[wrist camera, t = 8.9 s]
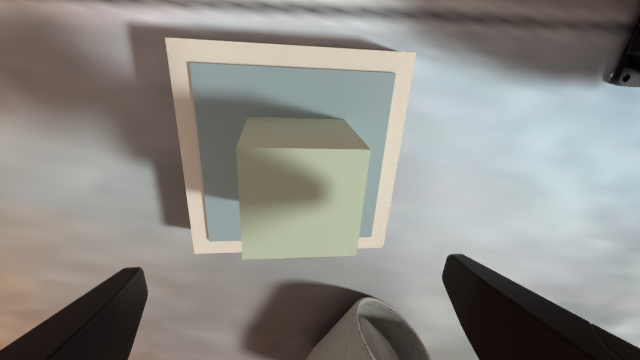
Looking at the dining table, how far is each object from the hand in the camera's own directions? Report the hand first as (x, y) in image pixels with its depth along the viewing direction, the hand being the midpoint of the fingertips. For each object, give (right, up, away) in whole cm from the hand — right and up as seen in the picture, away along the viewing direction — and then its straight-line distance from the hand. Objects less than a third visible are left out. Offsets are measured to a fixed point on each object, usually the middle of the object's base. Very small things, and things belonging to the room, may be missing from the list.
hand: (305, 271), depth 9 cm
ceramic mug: (+4, -11, +18) cm, 22 cm away
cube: (-1, +4, +8) cm, 9 cm away
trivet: (-1, +5, +10) cm, 11 cm away
